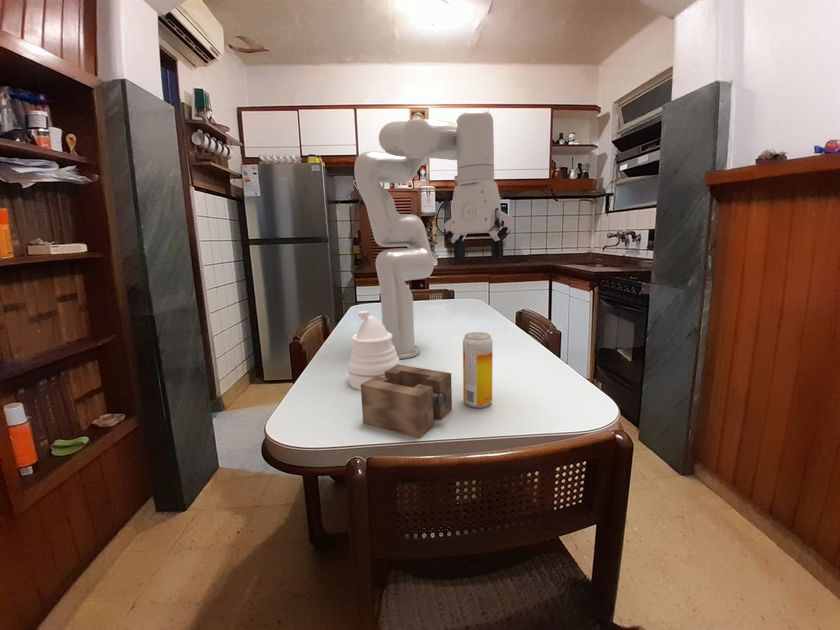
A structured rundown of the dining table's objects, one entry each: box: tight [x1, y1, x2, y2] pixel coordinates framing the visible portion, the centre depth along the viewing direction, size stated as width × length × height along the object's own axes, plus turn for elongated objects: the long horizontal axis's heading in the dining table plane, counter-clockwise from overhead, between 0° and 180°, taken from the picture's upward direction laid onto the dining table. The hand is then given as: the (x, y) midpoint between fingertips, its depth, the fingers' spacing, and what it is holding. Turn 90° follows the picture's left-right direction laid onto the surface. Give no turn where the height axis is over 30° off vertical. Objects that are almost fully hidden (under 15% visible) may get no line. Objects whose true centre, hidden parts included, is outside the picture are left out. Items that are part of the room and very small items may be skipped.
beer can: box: [462, 331, 493, 409], centre depth 84 cm, size 6×6×15 cm
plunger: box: [433, 392, 446, 407], centre depth 77 cm, size 5×3×3 cm, turn 60°
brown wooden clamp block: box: [360, 364, 453, 439], centre depth 80 cm, size 13×13×8 cm
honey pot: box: [347, 310, 401, 391], centre depth 99 cm, size 13×13×18 cm
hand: (477, 260), depth 86 cm, fingers open, 9 cm apart
